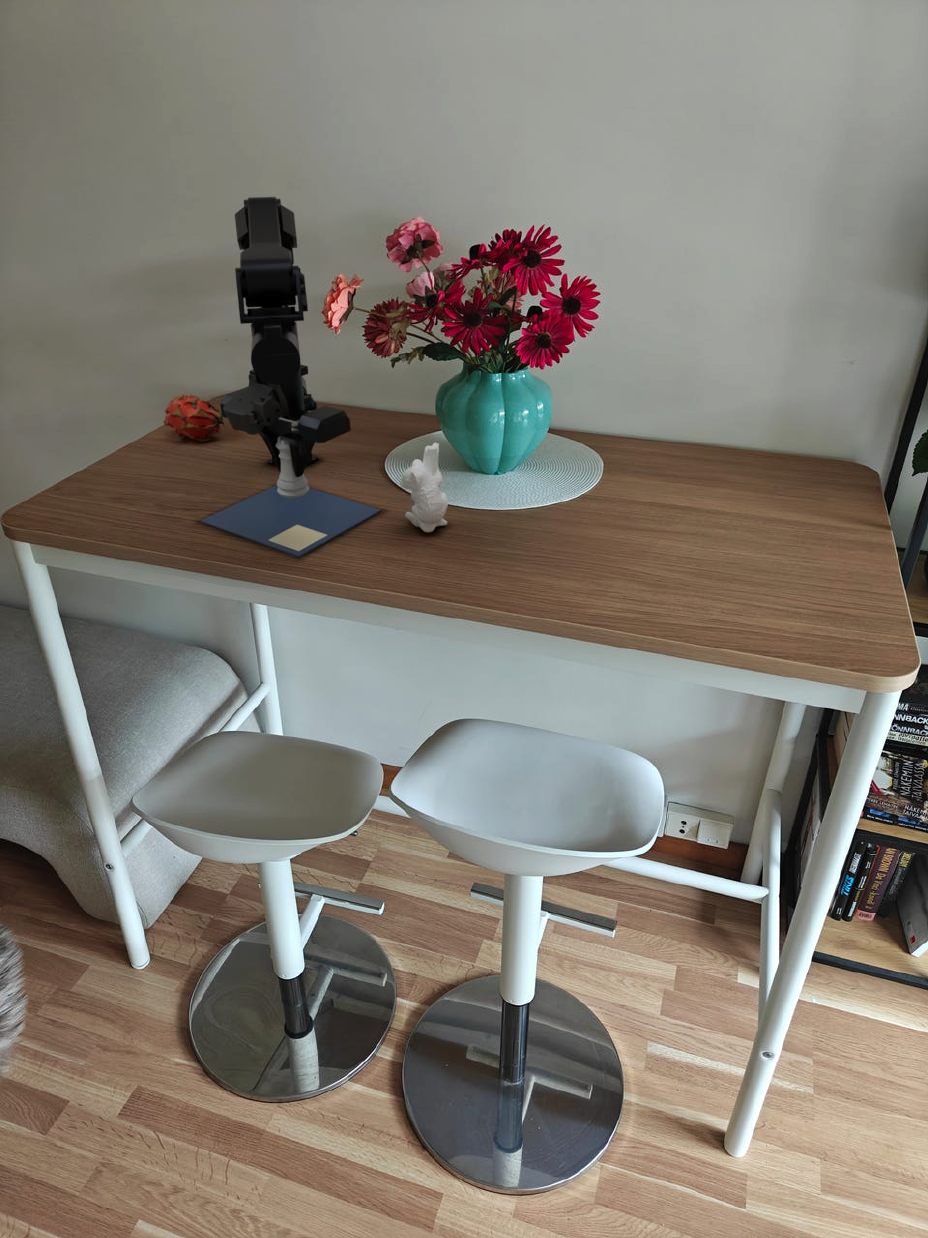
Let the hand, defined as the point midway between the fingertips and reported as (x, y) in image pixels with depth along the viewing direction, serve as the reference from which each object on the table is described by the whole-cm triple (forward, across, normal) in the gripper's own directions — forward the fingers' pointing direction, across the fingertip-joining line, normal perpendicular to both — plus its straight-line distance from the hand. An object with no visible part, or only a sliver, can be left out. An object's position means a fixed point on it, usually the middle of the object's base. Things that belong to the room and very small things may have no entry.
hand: (290, 473), depth 122 cm
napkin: (+10, -6, +5) cm, 13 cm away
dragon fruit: (+10, -44, +20) cm, 49 cm away
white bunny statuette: (+10, +13, +14) cm, 22 cm away
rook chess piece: (+3, 0, 0) cm, 3 cm away
